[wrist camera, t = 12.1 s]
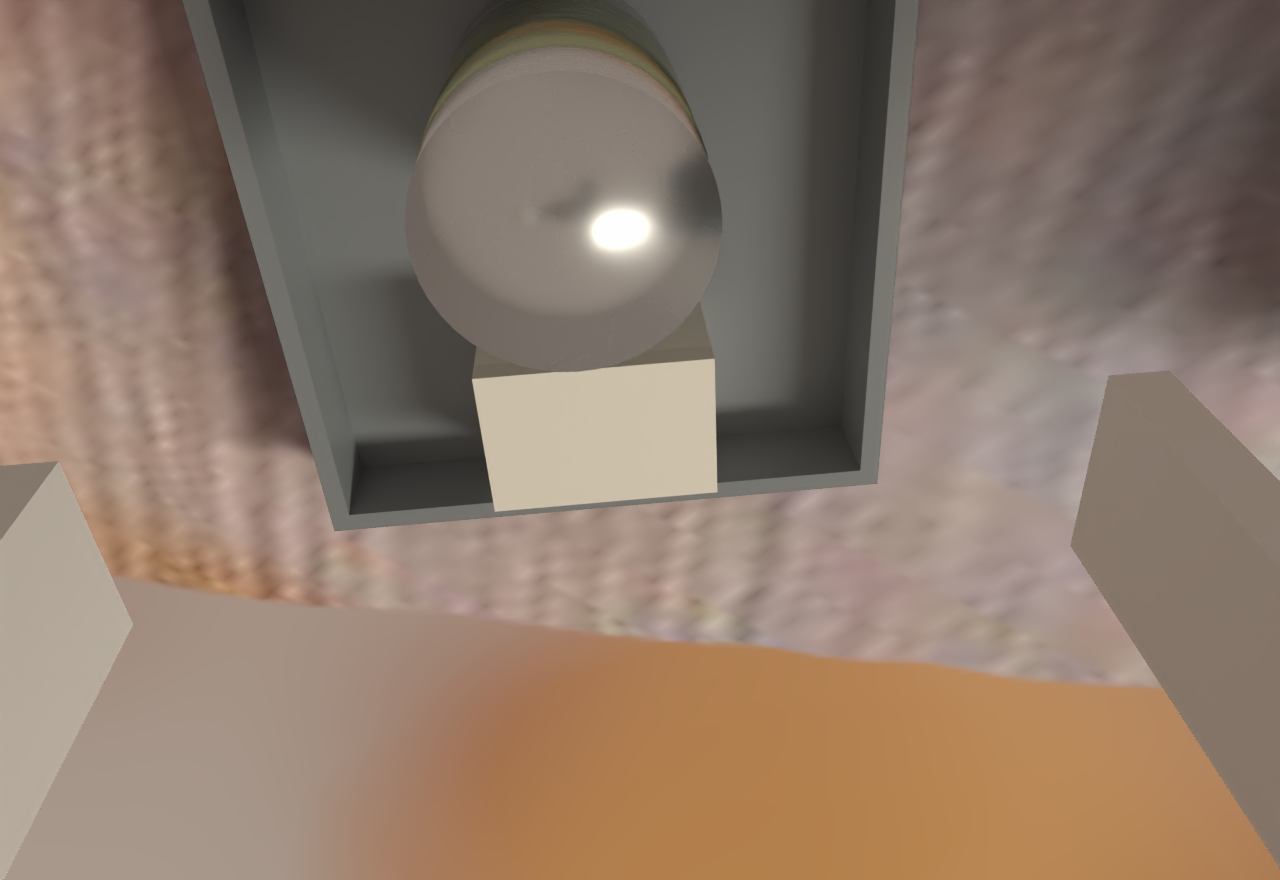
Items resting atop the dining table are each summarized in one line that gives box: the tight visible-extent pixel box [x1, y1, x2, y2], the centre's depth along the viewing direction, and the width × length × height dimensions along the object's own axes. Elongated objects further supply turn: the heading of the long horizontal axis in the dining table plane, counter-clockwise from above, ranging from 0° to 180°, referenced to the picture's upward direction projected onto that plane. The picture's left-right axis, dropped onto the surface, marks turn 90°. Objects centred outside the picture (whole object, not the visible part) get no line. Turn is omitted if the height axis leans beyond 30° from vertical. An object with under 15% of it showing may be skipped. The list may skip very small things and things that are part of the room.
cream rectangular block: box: [472, 302, 717, 512], centre depth 32 cm, size 7×5×4 cm
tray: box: [182, 0, 919, 531], centre depth 30 cm, size 18×18×4 cm
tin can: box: [405, 0, 722, 372], centre depth 25 cm, size 6×6×10 cm
